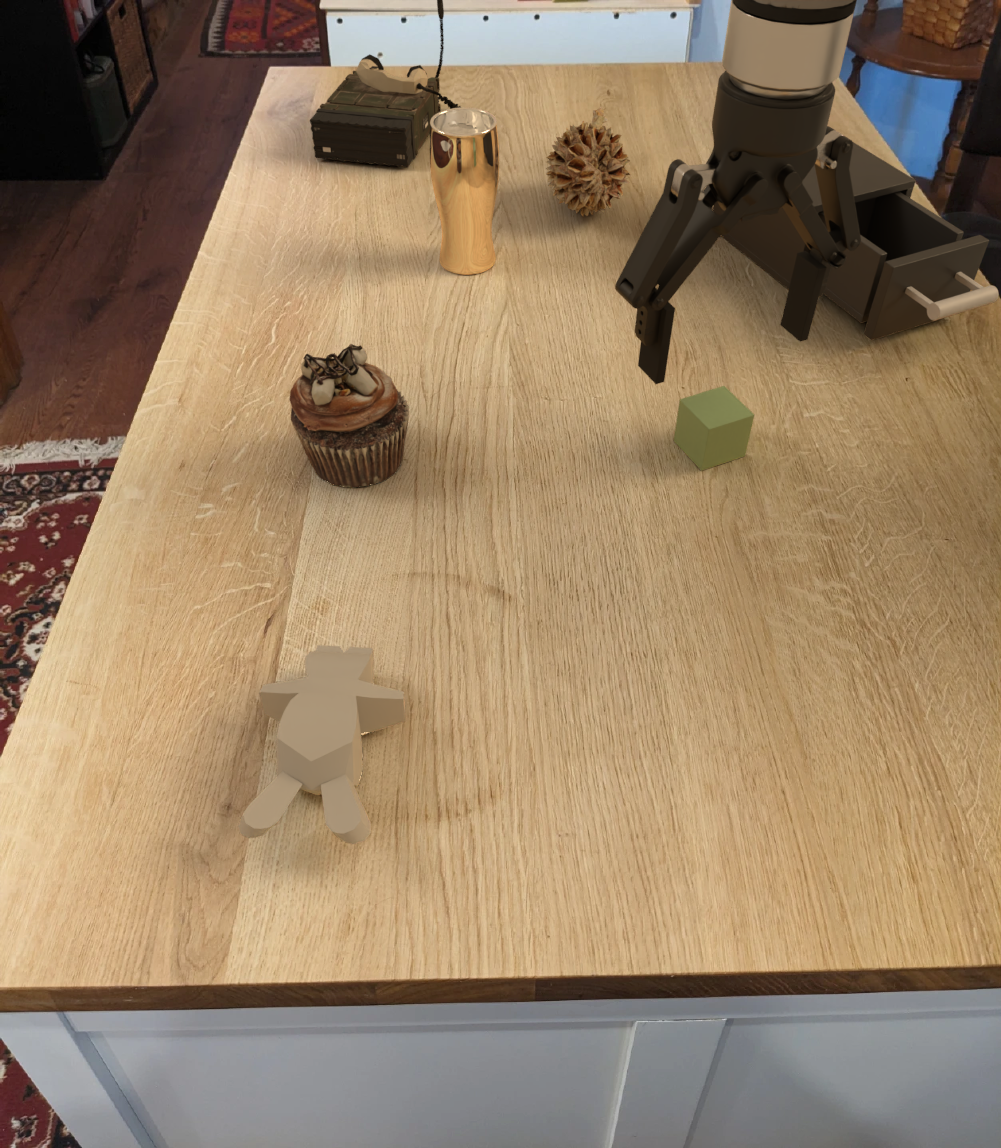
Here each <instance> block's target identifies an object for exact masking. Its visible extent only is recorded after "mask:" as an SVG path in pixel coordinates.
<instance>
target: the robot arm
mask: <svg viewBox="0 0 1001 1148" xmlns="http://www.w3.org/2000/svg"><path fill="white" fill-rule="evenodd" d="M857 1H858V0H731V1H730V6H729V13H728V19H727V25H726V32H725V39H724V44H723V51H722V58H721V65H722V67H723V69H724V70H725V71H724V72H722V73H721V75H719V77H718V81H717V87H716V94H715V101H714V107H713V113H712V118H711V119H712V120H711V131H712V138H713V146H712V151H711V153H710V154H709V157H708V159H707V160H706V162H705V163H702V164H701V163H700V164H690V165H689V164H687V163H686V162H684V161H683V160H682V159H680V158H677V159H674V160H673V161H671V163H670V164H669V166H668V169H667V173H666V176H665V177H666V178H665V182H664V186H663V191H662V194H661V196H660V197H659V200H658V201H657V203H656V205H655V207H654V209H653V211H652V213H651V215H650V217H649V219H648V221H647V222H646V225H645V227H644V229H643V231H642V232H641V234H640V235H639V238H638V240H637V242H636V244H635V246H634V248H633V250H632V252H631V254H630V255H629V257H628V259H627V260H626V263H625V265H624V267H623V269H622V271H621V273H620V275H619V276H618V278H617V281H616V282H615V285H614V289H615V291H616V292H617V293H618V294H619V295H620V296H621V297H622V298H623V299H624V301H626V302H627V304H629V305H630V306H631V307H632V308H634V309H636V315H635V325H634V334H635V337H636V338H637V339H638V340H639V341H640V346H639V354H638V361H637V366H638V368H639V369H640V370H641V371H642V372H643V373H644V374H645V375H646V376H647V377H648V378H649V379H650V380H651V381H652V382H653V383H654V384H655V385H658V384H662V383H665V379H666V371H667V365H668V358H669V351H670V347H671V346H670V344H671V338H672V332H673V325H674V320H675V319H674V318H675V312H676V307H674V306H673V305H672V304H671V302H670V300H671V299H672V298H673V297H674V295H675V294H676V293H677V292H678V290H680V288H681V287H682V285H683V284H684V283H685V281H686V280H687V279H688V277H689V276H690V275H691V274H692V272H693V271H694V270H695V269H696V267H697V266H698V265H699V264H700V262H701V261H702V260H703V259H704V258H705V256H706V255H707V253H708V252H709V251H710V250H711V248H712V247H713V246H714V244H715V243H716V242H717V241H718V239H720V237H722V236H721V235H723V234H728V233H729V232H730V231H731V230H732V229H733V228H734V226H735V225H736V224H737V223H738V221H739V220H740V221H741V222H744V221H748V220H751V219H753V218H755V217H757V216H759V215H772V214H776V213H778V211H779V209H780V208H781V207H783V209H784V211H785V212H786V214H787V215H788V217H789V218H790V220H791V222H792V223H793V225H794V226H795V228H796V230H797V231H798V233H799V234H800V236H801V238H802V239H803V241H804V242H805V244H806V245H807V247H808V248H809V249H810V250H811V252H810V254H809V253H807V252H806V251H803V252H799V253H797V257H796V261H795V265H794V269H793V273H792V278H791V282H790V286H789V290H788V289H787V294H786V299H785V303H784V307H783V311H782V315H781V320H780V324H779V325H780V327H782V329H784V330H785V331H786V332H788V333H789V334H790V335H791V336H792V337H794V339H796V340H797V341H798V342H799V343H801V342H804V341H808V340H809V336H810V332H811V329H812V325H813V322H814V317H815V314H816V310H817V306H818V302H819V298H820V297H823V296H824V294H823V293H824V292H825V290H826V286H827V282H828V278H829V275H830V271H831V267H834V268H835V269H838V268H840V267H841V266H843V264H844V263H845V261H846V255H845V254H843V253H842V252H843V251H845V250H846V249H848V250H849V251H854V250H855V249H856V248H858V246H859V245H860V242H861V237H860V231H859V224H858V218H857V212H856V206H855V200H854V194H853V188H852V182H851V176H850V170H849V167H850V161H851V155H852V149H853V142H854V141H853V140H852V139H850V138H849V137H847V136H845V135H844V134H843V133H841V132H839V131H838V130H836V129H834V128H832V127H831V126H829V125H828V124H829V120H830V116H831V112H832V107H833V103H834V99H835V96H836V87H835V85H834V84H833V83H834V82H835V81H836V80H837V79H838V78H840V75H841V71H842V66H843V63H844V58H845V53H846V50H847V49H846V48H847V45H848V40H849V36H850V32H851V27H852V23H853V20H854V19H853V18H854V14H855V9H856V5H857ZM814 164H815V170H816V175H817V180H818V186H819V191H820V196H821V201H822V206H823V211H824V216H825V221H826V226H827V229H826V227H825V225H824V224H823V222H822V220H821V218H820V217H819V215H818V213H817V212H816V210H815V208H814V207H813V205H812V203H813V201H812V199H811V197H810V196H809V194H808V192H807V190H806V189H805V187H804V185H803V183H802V181H803V180H804V178H805V177H806V176H807V174H808V173H809V172H810V170H811V169H812V167H813V166H814ZM716 201H717V202H718V204H719V206H720V207H721V208H722V209H723V210H724V213H722V214H721V215H718V214H716V213H715V212H714V211H713V206H714V204H715V203H716ZM657 286H658V287H657Z"/></svg>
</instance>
